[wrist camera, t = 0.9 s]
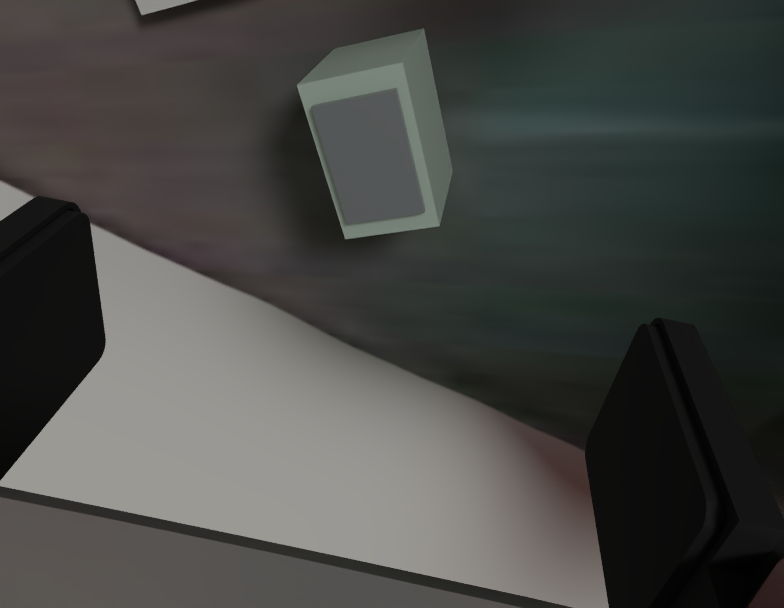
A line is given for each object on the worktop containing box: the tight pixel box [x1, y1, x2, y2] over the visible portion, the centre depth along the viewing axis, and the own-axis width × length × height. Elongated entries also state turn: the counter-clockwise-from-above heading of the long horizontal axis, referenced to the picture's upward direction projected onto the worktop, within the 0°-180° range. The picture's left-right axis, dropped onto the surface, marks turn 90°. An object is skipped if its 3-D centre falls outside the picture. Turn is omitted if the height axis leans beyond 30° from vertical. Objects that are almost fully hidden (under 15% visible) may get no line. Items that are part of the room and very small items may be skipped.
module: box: [297, 29, 453, 239], centre depth 33 cm, size 5×8×7 cm, turn 14°
